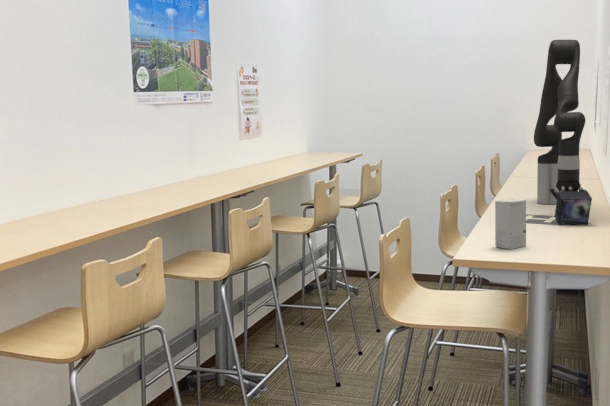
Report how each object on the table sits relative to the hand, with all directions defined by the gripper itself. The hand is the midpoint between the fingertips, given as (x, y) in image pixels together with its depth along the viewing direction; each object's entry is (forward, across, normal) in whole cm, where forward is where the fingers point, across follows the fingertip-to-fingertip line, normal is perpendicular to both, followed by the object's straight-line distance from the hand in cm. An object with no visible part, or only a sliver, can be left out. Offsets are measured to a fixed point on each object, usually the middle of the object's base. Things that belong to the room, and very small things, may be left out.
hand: (567, 214), depth 257 cm
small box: (+2, -2, +3) cm, 4 cm away
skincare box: (+3, +5, +49) cm, 49 cm away
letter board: (+3, +10, 0) cm, 11 cm away
